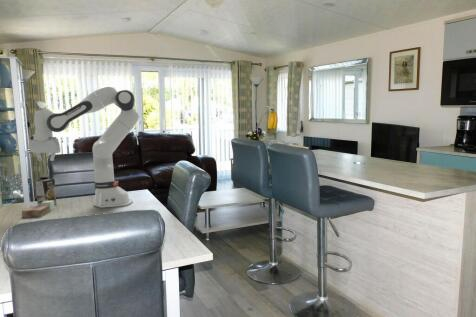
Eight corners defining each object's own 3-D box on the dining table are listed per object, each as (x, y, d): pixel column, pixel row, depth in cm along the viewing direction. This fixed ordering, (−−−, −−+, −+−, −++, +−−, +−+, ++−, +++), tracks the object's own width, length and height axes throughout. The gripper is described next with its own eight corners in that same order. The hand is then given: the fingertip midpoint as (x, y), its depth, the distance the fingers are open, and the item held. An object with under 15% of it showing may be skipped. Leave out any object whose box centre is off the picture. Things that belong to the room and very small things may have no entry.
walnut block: (49, 212, 208) (49, 205, 207) (41, 217, 198) (40, 210, 197) (31, 213, 207) (31, 206, 207) (22, 218, 197) (21, 210, 197)
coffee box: (46, 207, 217) (44, 181, 215) (37, 207, 218) (34, 181, 216) (57, 204, 226) (54, 178, 224) (48, 204, 227) (45, 178, 225)
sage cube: (54, 208, 215) (53, 200, 215) (50, 210, 210) (49, 202, 210) (45, 209, 215) (45, 200, 214) (41, 211, 210) (41, 202, 209)
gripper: (62, 136, 210) (63, 160, 211) (36, 136, 217) (38, 159, 219) (53, 137, 204) (54, 161, 205) (26, 137, 211) (28, 160, 213)
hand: (45, 160), depth 212 cm, fingers open, 8 cm apart
